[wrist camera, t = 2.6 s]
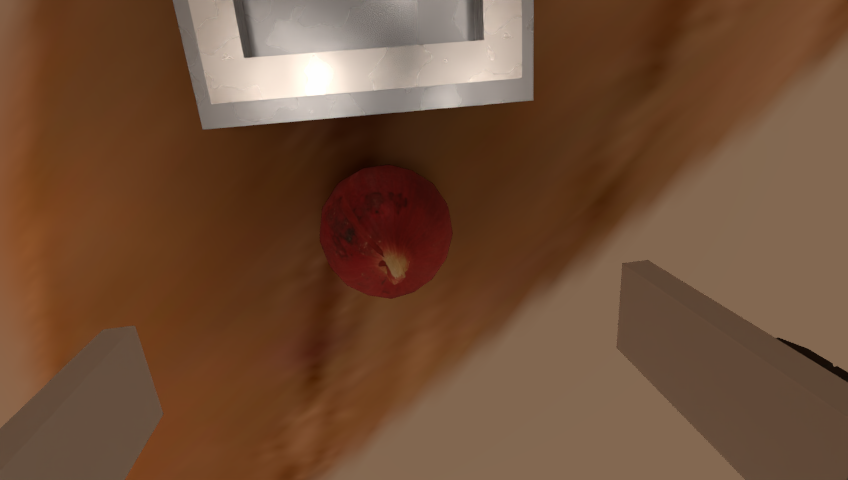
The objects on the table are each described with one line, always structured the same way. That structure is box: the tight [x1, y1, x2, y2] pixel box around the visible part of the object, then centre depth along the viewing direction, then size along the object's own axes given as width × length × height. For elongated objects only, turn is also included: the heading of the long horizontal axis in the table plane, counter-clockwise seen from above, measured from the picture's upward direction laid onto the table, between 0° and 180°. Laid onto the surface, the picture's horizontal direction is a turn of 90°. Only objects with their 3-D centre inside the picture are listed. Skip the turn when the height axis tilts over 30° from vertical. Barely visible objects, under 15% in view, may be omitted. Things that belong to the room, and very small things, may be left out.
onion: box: [320, 165, 453, 299], centre depth 20 cm, size 6×6×8 cm
